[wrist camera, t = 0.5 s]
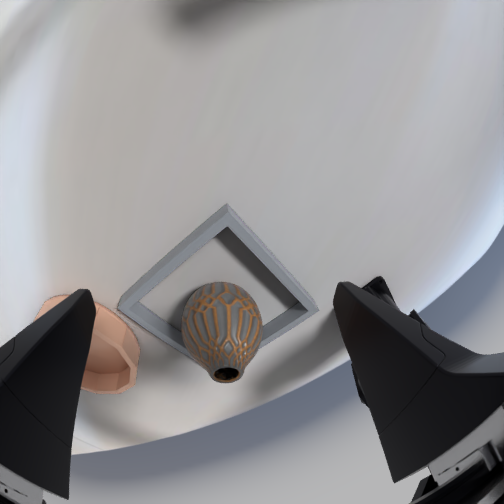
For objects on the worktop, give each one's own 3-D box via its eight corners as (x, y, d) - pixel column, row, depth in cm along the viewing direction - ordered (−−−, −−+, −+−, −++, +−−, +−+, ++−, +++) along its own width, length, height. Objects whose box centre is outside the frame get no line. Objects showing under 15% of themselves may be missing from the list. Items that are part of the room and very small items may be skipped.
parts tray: (313, 299, 28) (319, 310, 26) (215, 361, 30) (216, 373, 29) (227, 203, 21) (228, 211, 20) (121, 296, 24) (117, 308, 22)
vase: (168, 290, 24) (159, 366, 17) (233, 256, 24) (247, 331, 16) (208, 333, 28) (212, 405, 20) (266, 307, 27) (287, 378, 20)
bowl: (162, 346, 28) (160, 370, 25) (106, 383, 31) (102, 403, 28) (64, 272, 22) (51, 293, 19) (28, 329, 24) (18, 348, 22)
